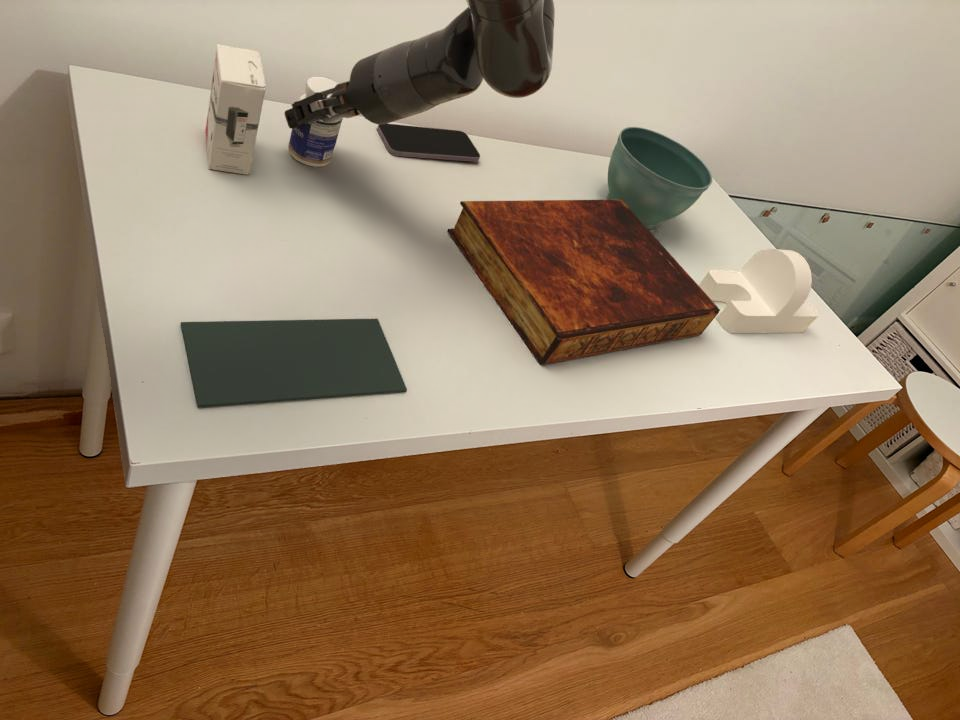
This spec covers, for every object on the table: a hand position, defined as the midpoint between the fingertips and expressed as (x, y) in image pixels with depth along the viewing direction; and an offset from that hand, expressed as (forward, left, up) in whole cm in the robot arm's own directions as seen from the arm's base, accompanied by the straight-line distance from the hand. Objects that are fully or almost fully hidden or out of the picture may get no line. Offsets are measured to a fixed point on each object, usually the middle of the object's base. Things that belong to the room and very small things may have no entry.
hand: (307, 116), depth 92 cm
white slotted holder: (+70, +1, -5) cm, 71 cm away
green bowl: (+51, +17, -5) cm, 54 cm away
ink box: (-8, -7, -5) cm, 11 cm away
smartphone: (+16, +13, -5) cm, 22 cm away
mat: (+8, -37, -5) cm, 38 cm away
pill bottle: (+1, -1, -5) cm, 5 cm away
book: (+40, -9, -5) cm, 42 cm away
